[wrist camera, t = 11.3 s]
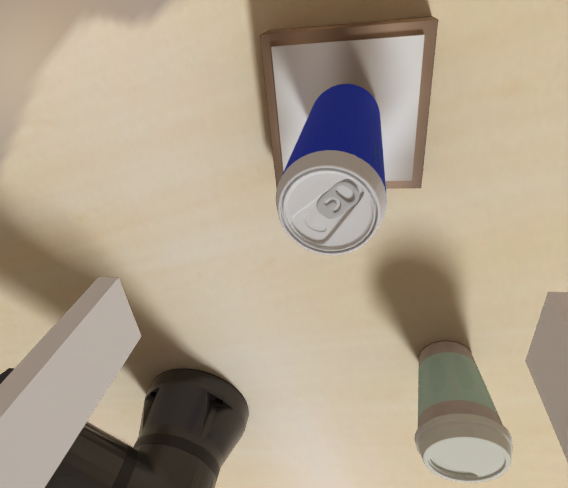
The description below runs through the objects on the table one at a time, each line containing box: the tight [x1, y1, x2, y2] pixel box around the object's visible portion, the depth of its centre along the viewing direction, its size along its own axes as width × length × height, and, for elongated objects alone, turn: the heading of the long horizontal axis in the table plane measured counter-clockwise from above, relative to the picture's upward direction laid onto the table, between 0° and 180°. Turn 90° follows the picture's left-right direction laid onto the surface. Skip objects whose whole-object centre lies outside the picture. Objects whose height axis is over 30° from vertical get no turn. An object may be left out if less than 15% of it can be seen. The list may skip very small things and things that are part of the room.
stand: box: [260, 16, 438, 188], centre depth 32 cm, size 12×12×3 cm
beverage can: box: [276, 84, 387, 255], centre depth 24 cm, size 5×5×15 cm
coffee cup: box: [415, 341, 513, 483], centre depth 41 cm, size 8×8×12 cm
